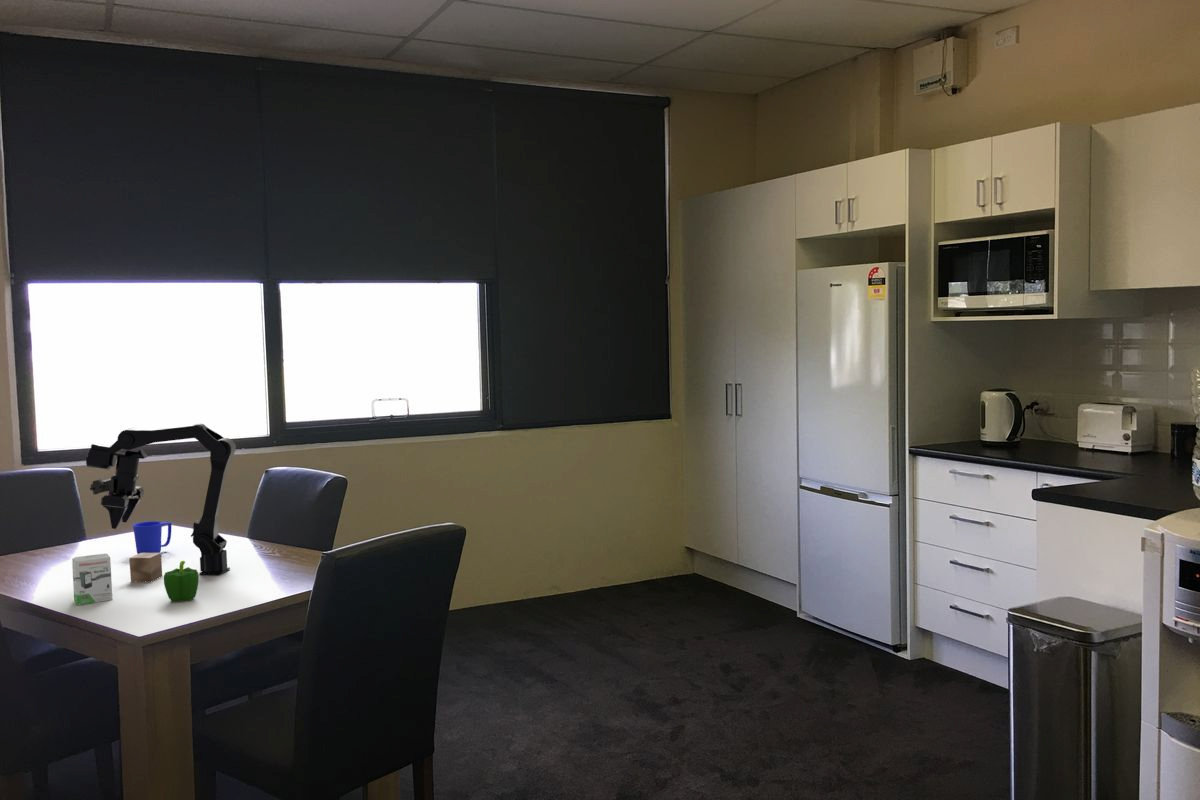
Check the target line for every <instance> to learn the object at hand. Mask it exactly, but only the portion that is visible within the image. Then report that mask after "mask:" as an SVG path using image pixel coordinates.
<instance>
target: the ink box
mask: <svg viewBox="0 0 1200 800" xmlns="http://www.w3.org/2000/svg"><path fill="white" fill-rule="evenodd" d="M71 559H72V560H71V561H72V562H71V565H72V585H73V601H74V604H75V605H77V606H80V605H79V604H83V605H88V604H87V603H89V604H95V603H101V602H100V601H102V602H106V601H107V600H108V601H113V587H112V586H113V584H112V565H111V564H112V563H111V557H110V555H109V554H108V553H99V554H91V555H90V554H89V555H83V556H82V555H81V556H75V557H74V558H71ZM108 601H107V602H108ZM94 602H95V603H94Z"/></svg>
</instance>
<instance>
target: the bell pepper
mask: <svg viewBox="0 0 1200 800" xmlns="http://www.w3.org/2000/svg"><path fill="white" fill-rule="evenodd" d="M185 564H186V561H185V560H181V561H180V562H179V567H178V568H174V569H172V570H169V571H166V572H165V573H164V575H163V585H164V589H165V592H166V595H167V598H168V599H169V600H170V602H172V603H179V602H180V603H181V602H183V601H184V602H187V601H188V602H189V601H192V600H194V599H195V597H196V596H197V594H198V587H199V575H200V574H199V571H198V570H197V569H193V568H190V567H189V566H188V567H185V568H184V565H185Z"/></svg>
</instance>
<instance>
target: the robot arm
mask: <svg viewBox="0 0 1200 800" xmlns="http://www.w3.org/2000/svg"><path fill="white" fill-rule="evenodd" d="M116 439H117V440H116V441H115V442H113V444H111V445H110V446H109V445H104V444H100V443H99V444H98V443H92V444H91V445H90V449H89V451H88V453H87V455H86V457H85V459H86V460H85V462H86V463H85V464H86V467H87V468H91V469H100V470H107V471H109V470H111V468H113V467H115V471H114V474H113V475H111V477H110V478H107V479H104V480H103V479H100V478H99V479H94V480H93V481H92V482H91V483H90V487H89V489H90V490H89V491H92V494H93V495H98V494H101V493H105V492H108V493H107V494H105V495H104V496H102V497H101V501H100V505H101V506H102V507H103V508H104V509H106V510H107V511H108V513H109V519H110V525H111V529H114V530H116V529H117V527H118V526H119V524H120V522H121V521H122V523H127V522H128V520H129V519H130V517H131V515H133V512H134V511H135V509H136V508H137V506H138V505H139V503H140V501H141V500H142V498H143V497H144V492H145V491H144V488H143V487H142V486H139V485H137V480H139V478H140V475H138V471H139V463H140V459H141V460H144V459H146V458H148V457H149V456H148V454H146V452H144V449H142V448H141V447H144V446H148V445H151V444H155V443H162V442H163V443H164V442H171V441H179V440H181V441H182V440H188V439H195V440H197V441H198V442H199V443H200V444H201V445H202V446H203V447H204V448H205V449H206V450H208V451H209V452H210V453H209V455H210V456H209V459H210V460H209V461H210V468H211V469H210V470H211V471H210V475H209V481H208V486H207V491H206V495H205V502H204V505H203V512H202V516H201V518H198V519H197V520H196V521H194V522H193V525H192V533H191V535H190V537H191V538H192V543H193V544H194V546H195V547H196V548H198V550H199V551H200V556H199V569H200V572H198V575H203V576H204V575H208V576H209V575H210V576H211V575H217V576H218V575H222V574H224V573H225V572H228V571H229V570H231V567H228V558H227V557H228V556H227V549H225V548H226V546H227V544H228V542H227V539H225V538H224V537H223V536H221V535H220V533H219V532H220V531H219V530H220V529H219V526H220V525H219V518H218V517H219V510H220V505H221V500H222V495H223V489H224V485H225V480H226V477H227V476H226V475H227V471H228V468H229V466H230V464H231V463H232V460H233V458H234V455H235V453H236V450H237V445H236V443H235V442H234V440H233V439H231V438H228V437H223V436H222V435H220V434H219V433H217V432H216V431H214V430H212V429H211V428H209V427H207V426H206V424H204V423H196V424H190V425H189V424H188V425H181V426H172V427H165V428H146V427H130V428H128V429H124V430H122V431H120V432H119V433H118V436H117V438H116ZM137 448H141V449H138V451H136V450H133V449H137ZM122 450H126V451H125V452H121V451H122Z"/></svg>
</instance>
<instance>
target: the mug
mask: <svg viewBox="0 0 1200 800" xmlns="http://www.w3.org/2000/svg"><path fill="white" fill-rule="evenodd" d="M166 525H167V538H166V541H165V543H164V544H162V532H163V530H162V528H163V526H166ZM132 526H133V535H134V541H135V543H134V544H135V548H136V553H137V554H140V553H162V548H166V547H167V546H168V545H170V542H171V537H172V522H170V521H168V522H167V521H165V522H162V521H157V520H155V521H154V520H153V521H152V520H151V521H142V522H138V523H135V524H132ZM137 554H136V555H137Z"/></svg>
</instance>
